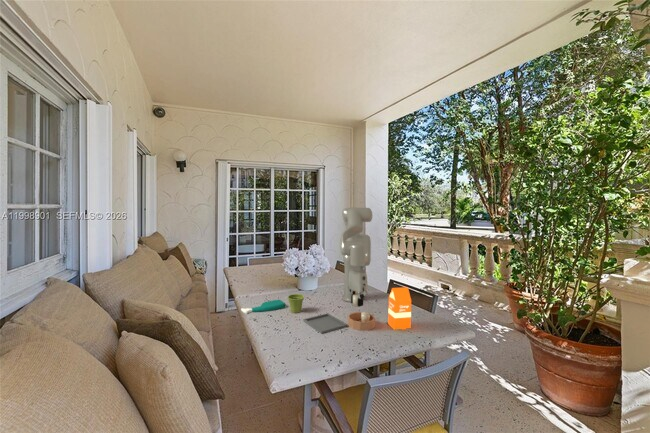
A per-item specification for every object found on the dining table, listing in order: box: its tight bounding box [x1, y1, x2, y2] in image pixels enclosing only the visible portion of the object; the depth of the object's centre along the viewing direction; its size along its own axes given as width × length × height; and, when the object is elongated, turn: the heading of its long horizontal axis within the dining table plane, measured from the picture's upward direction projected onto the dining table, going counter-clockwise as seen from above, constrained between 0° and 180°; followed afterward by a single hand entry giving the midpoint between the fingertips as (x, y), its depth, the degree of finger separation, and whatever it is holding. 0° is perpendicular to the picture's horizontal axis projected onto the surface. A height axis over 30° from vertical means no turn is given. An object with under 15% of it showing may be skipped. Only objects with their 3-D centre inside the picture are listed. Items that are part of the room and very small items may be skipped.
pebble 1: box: [352, 294, 361, 308], centre depth 146 cm, size 4×4×5 cm
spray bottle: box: [240, 299, 287, 315], centre depth 171 cm, size 3×11×25 cm
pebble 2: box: [361, 311, 371, 322], centre depth 150 cm, size 4×4×5 cm
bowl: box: [347, 311, 376, 332], centre depth 149 cm, size 13×13×4 cm
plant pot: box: [287, 293, 305, 314], centre depth 167 cm, size 9×9×9 cm
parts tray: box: [302, 313, 348, 335], centre depth 149 cm, size 16×18×2 cm
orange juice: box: [387, 286, 412, 331], centre depth 148 cm, size 8×9×20 cm
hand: (357, 304), depth 146 cm, fingers closed on pebble 1, 4 cm apart
